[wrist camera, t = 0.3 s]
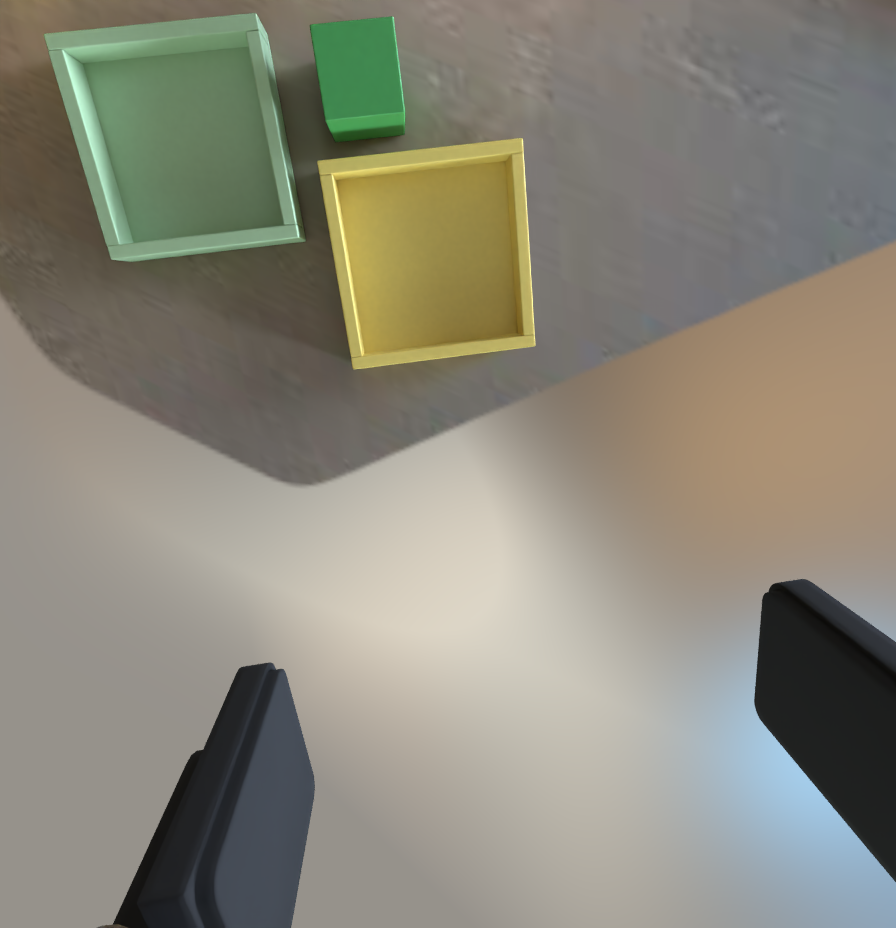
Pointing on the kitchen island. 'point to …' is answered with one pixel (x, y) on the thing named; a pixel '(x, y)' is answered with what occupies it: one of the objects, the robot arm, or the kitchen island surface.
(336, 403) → the kitchen island surface
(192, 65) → the green tray
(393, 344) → the yellow tray
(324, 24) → the green cube
